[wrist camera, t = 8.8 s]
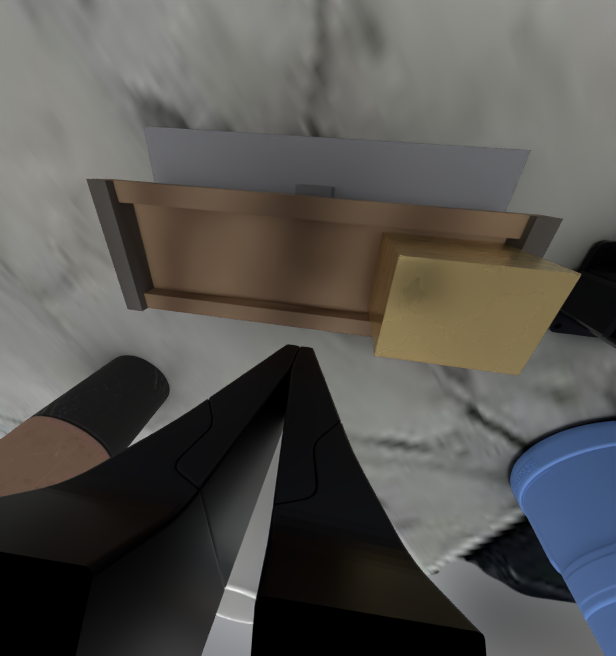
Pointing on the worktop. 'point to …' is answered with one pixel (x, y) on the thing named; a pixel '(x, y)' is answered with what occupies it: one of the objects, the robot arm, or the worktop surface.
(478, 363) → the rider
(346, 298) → the beam
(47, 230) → the worktop surface
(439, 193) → the stand
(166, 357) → the worktop surface
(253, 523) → the drinking glass
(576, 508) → the water jug
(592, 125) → the worktop surface
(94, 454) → the travel mug
